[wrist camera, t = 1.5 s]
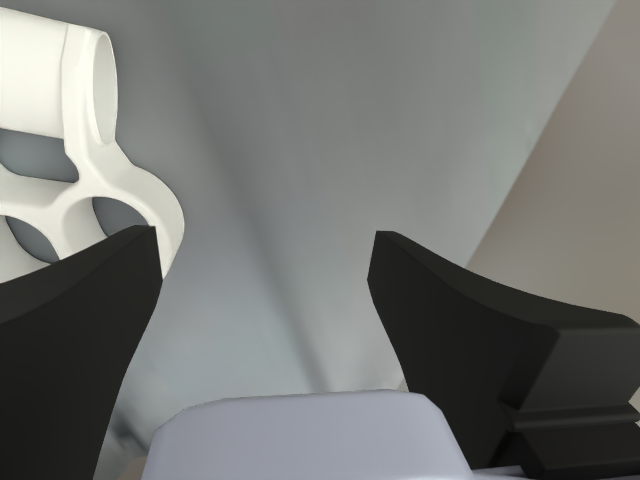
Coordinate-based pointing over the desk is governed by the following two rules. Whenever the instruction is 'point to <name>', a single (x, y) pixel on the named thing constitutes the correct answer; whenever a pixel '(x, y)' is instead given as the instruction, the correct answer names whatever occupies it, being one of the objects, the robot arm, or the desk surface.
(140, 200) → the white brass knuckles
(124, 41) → the desk surface
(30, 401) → the robot arm
